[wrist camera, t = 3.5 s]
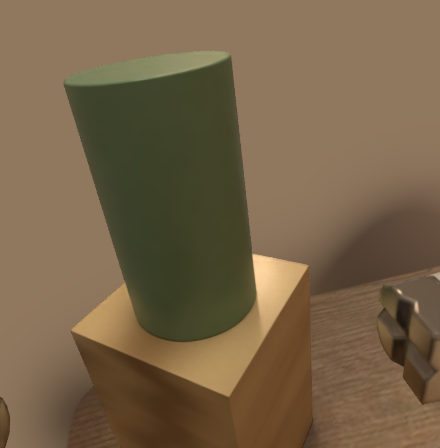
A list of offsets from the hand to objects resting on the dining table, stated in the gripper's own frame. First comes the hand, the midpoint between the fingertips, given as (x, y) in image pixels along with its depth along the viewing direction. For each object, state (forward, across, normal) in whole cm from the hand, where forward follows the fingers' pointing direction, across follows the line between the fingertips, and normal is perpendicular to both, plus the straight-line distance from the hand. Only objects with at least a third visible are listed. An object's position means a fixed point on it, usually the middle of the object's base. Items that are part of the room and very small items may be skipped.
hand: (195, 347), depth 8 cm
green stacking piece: (+8, 0, +5) cm, 10 cm away
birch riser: (+8, 0, +17) cm, 19 cm away
